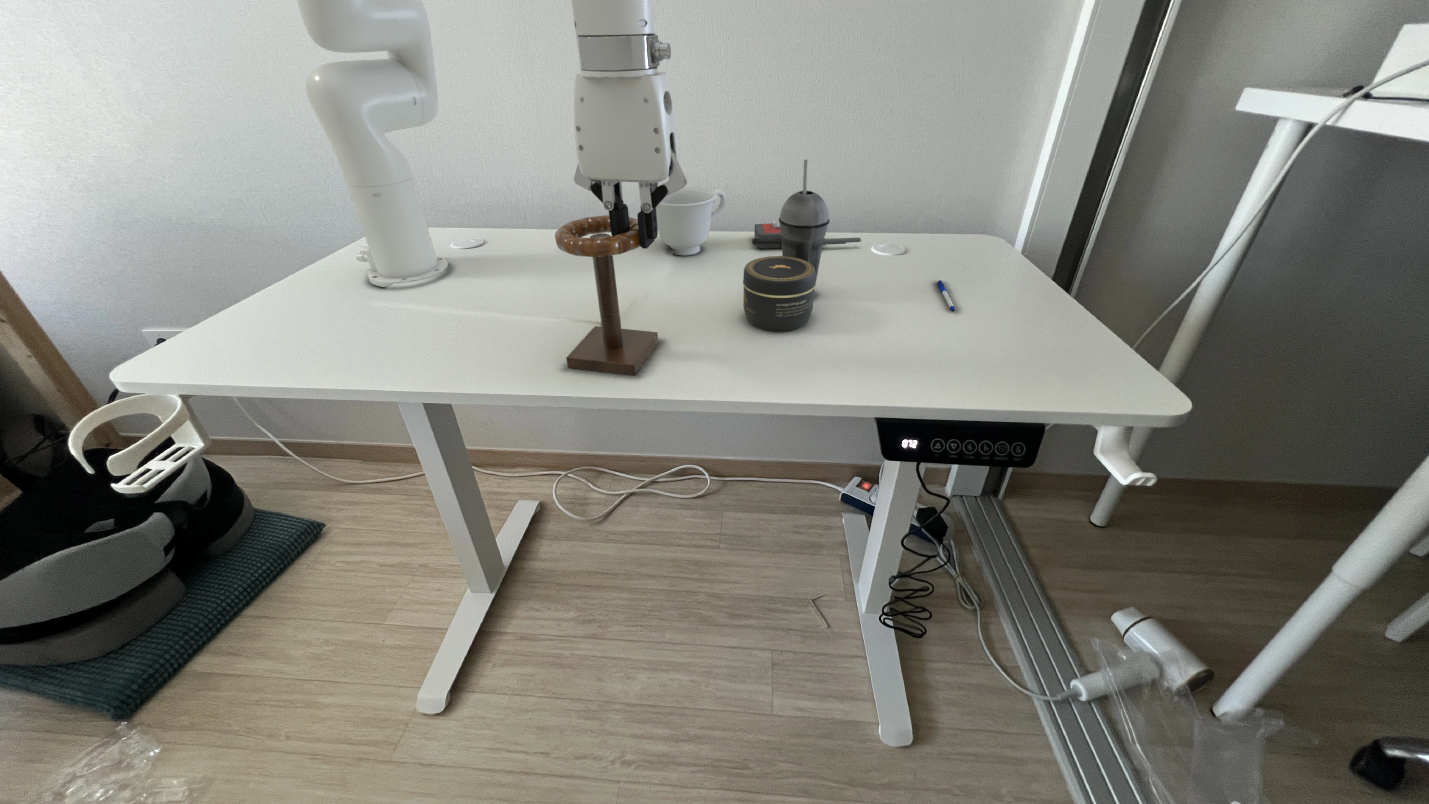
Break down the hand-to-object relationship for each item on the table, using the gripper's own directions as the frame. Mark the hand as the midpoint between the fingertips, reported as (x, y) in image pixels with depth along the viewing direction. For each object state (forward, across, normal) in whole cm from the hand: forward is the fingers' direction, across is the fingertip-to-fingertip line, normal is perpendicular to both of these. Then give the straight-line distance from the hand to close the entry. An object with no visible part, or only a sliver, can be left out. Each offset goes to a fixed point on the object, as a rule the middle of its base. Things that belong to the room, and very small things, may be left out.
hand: (635, 242), depth 67 cm
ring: (-1, +4, 0) cm, 4 cm away
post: (+15, +4, 0) cm, 16 cm away
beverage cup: (+15, -17, -24) cm, 33 cm away
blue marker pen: (+16, -39, -28) cm, 50 cm away
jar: (+15, -15, -15) cm, 26 cm away
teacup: (+15, +5, -41) cm, 44 cm away
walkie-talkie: (+15, -15, -48) cm, 52 cm away
